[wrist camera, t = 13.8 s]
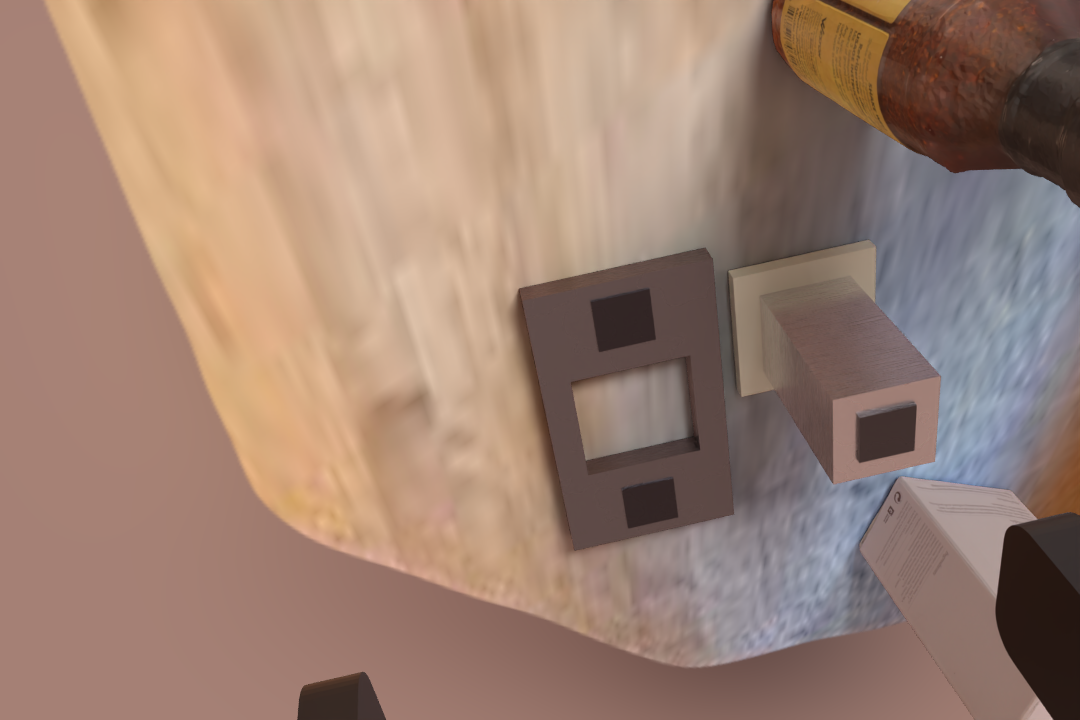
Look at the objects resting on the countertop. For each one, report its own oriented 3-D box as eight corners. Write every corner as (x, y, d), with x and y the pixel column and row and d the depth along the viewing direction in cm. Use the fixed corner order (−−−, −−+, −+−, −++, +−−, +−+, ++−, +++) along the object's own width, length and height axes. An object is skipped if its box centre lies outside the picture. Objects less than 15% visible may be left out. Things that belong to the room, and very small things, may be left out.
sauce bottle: (849, 103, 43) (1148, 325, 26) (735, 41, 41) (980, 240, 24) (942, -39, 40) (1341, 108, 23) (824, -113, 38) (1172, -9, 21)
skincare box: (854, 546, 58) (985, 764, 45) (899, 466, 55) (1052, 676, 42) (972, 560, 60) (1128, 773, 47) (1022, 485, 57) (1201, 690, 45)
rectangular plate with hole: (705, 247, 46) (713, 259, 45) (727, 500, 54) (734, 515, 53) (518, 288, 45) (522, 301, 44) (570, 535, 54) (574, 551, 53)
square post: (850, 275, 47) (943, 378, 39) (849, 352, 49) (937, 464, 41) (759, 295, 47) (834, 402, 39) (763, 371, 49) (835, 487, 41)
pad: (869, 239, 47) (876, 246, 46) (867, 359, 50) (873, 367, 50) (727, 270, 47) (733, 278, 46) (736, 388, 50) (741, 397, 50)
